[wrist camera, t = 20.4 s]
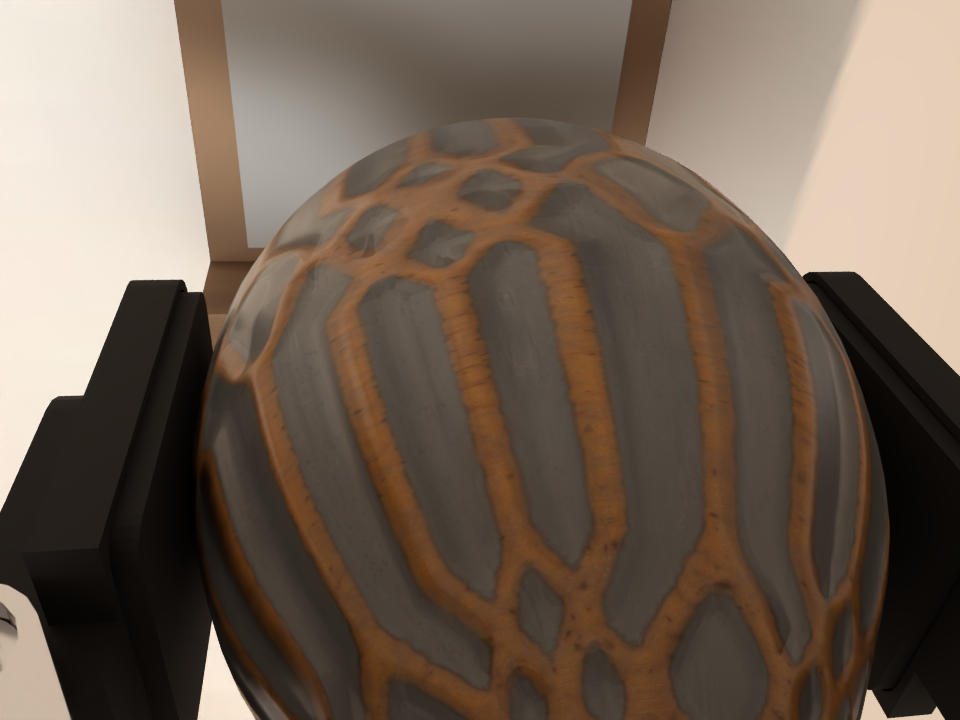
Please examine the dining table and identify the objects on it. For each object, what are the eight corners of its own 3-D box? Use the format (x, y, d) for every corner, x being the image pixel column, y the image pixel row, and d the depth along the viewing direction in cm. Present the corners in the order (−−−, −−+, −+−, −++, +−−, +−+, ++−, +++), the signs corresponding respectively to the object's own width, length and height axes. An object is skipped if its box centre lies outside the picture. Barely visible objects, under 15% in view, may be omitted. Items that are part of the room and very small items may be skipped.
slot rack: (145, -273, 16) (104, -275, 13) (697, -230, 18) (764, -224, 15) (256, 548, 29) (247, 632, 27) (563, 531, 31) (584, 609, 28)
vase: (127, 176, 11) (-298, 1025, 4) (647, -51, 10) (1424, 450, 3) (364, 517, 15) (387, 1230, 8) (746, 375, 14) (1164, 1017, 7)
